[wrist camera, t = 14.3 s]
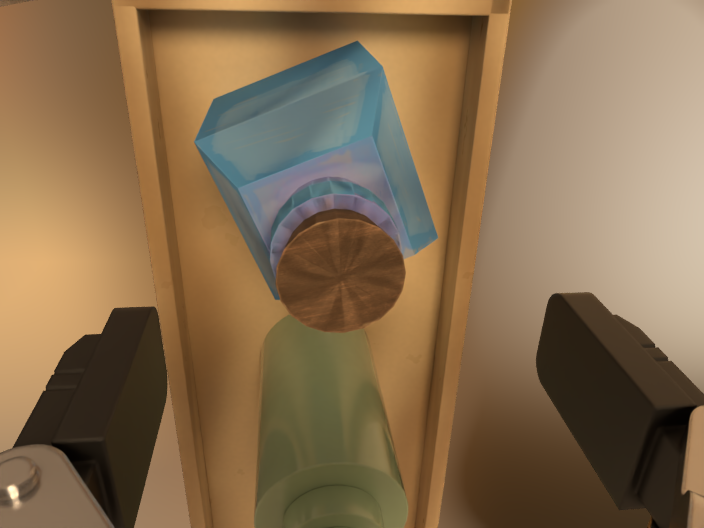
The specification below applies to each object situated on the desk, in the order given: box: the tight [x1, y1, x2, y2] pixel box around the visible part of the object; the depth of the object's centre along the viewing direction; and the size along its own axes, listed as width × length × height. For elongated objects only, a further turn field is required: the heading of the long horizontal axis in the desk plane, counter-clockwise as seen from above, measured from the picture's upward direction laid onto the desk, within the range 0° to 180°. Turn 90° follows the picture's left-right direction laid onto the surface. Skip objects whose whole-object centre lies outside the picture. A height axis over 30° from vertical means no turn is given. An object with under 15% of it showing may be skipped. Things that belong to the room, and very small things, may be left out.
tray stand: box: [111, 0, 512, 528], centre depth 39 cm, size 14×34×25 cm, turn 179°
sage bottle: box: [254, 315, 408, 528], centre depth 24 cm, size 6×6×14 cm
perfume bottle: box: [194, 41, 438, 333], centre depth 19 cm, size 6×6×12 cm
